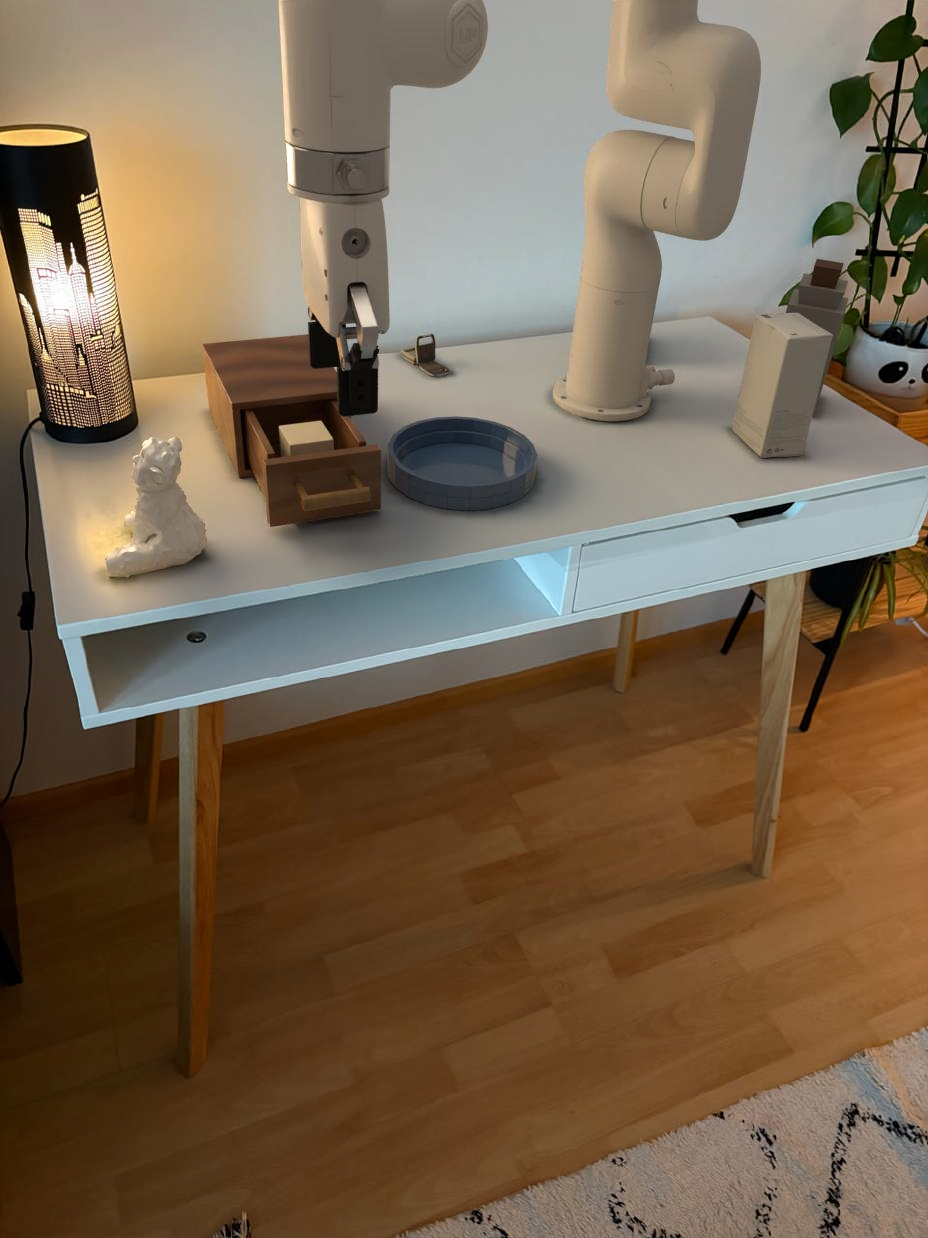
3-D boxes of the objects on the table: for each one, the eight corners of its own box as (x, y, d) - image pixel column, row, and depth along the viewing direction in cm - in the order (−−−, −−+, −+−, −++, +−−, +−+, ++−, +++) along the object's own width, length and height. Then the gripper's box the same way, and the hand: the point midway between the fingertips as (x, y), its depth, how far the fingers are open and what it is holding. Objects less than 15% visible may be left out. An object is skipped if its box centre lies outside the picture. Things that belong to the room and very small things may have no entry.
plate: (497, 433, 114) (499, 409, 112) (559, 500, 103) (562, 473, 101) (368, 451, 109) (368, 425, 107) (417, 523, 97) (418, 496, 95)
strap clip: (398, 356, 132) (398, 325, 129) (417, 352, 133) (417, 322, 131) (432, 378, 126) (433, 347, 124) (451, 373, 128) (452, 343, 125)
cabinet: (351, 462, 107) (350, 389, 101) (238, 477, 102) (231, 403, 97) (311, 401, 119) (309, 333, 113) (209, 412, 114) (201, 343, 109)
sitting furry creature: (130, 524, 94) (110, 411, 87) (218, 528, 94) (206, 416, 87) (102, 579, 86) (78, 461, 79) (199, 583, 87) (183, 465, 79)
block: (322, 463, 102) (321, 420, 99) (335, 483, 99) (333, 439, 96) (281, 468, 100) (278, 425, 97) (292, 489, 97) (289, 445, 94)
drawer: (395, 531, 94) (396, 469, 90) (281, 550, 90) (276, 487, 86) (337, 442, 108) (336, 385, 104) (237, 455, 104) (231, 397, 100)
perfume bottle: (761, 406, 125) (797, 266, 114) (768, 387, 130) (803, 252, 119) (813, 417, 123) (855, 276, 113) (818, 397, 129) (859, 261, 118)
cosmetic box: (802, 457, 114) (839, 336, 105) (757, 459, 113) (790, 337, 104) (770, 425, 121) (801, 309, 112) (726, 428, 119) (755, 310, 110)
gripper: (424, 198, 65) (416, 429, 75) (356, 143, 77) (358, 347, 88) (315, 201, 62) (323, 439, 73) (264, 144, 75) (276, 353, 85)
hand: (342, 388), depth 80 cm, fingers open, 9 cm apart
